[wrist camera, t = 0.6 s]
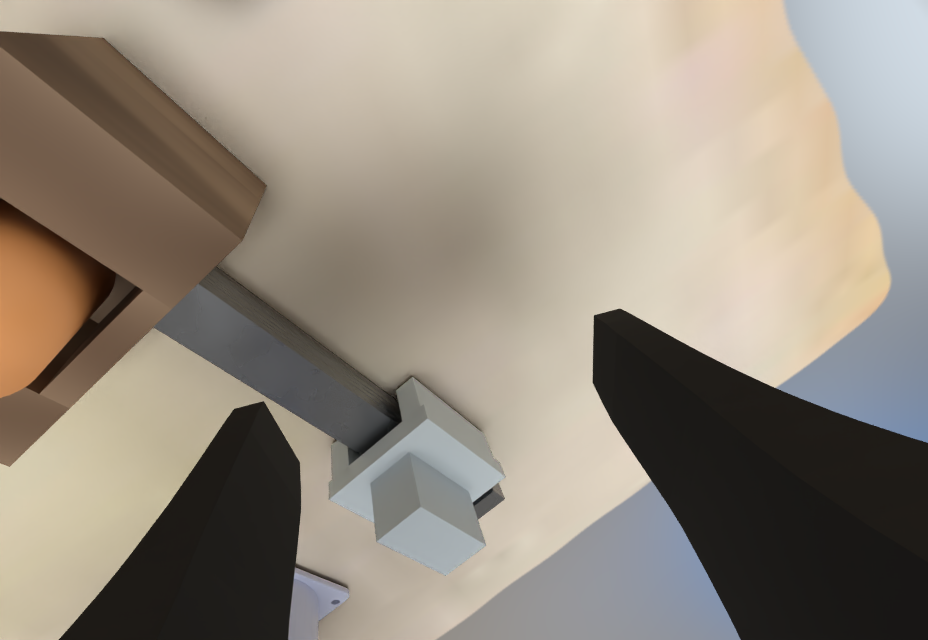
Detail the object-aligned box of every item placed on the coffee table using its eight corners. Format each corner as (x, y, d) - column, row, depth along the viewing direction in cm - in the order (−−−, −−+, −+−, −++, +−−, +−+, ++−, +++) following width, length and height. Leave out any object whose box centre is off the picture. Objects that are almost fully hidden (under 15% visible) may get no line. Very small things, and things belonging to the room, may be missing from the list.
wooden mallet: (94, 355, 19) (9, 466, 14) (-89, 255, 16) (-287, 352, 11) (266, 185, 17) (242, 240, 12) (103, 37, 14) (-21, 29, 9)
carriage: (407, 494, 27) (427, 602, 22) (328, 447, 24) (329, 560, 18) (486, 431, 26) (527, 528, 21) (415, 374, 23) (442, 471, 18)
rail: (434, 490, 28) (447, 543, 25) (148, 310, 18) (114, 359, 15) (485, 450, 27) (504, 498, 24) (216, 242, 18) (195, 280, 15)
